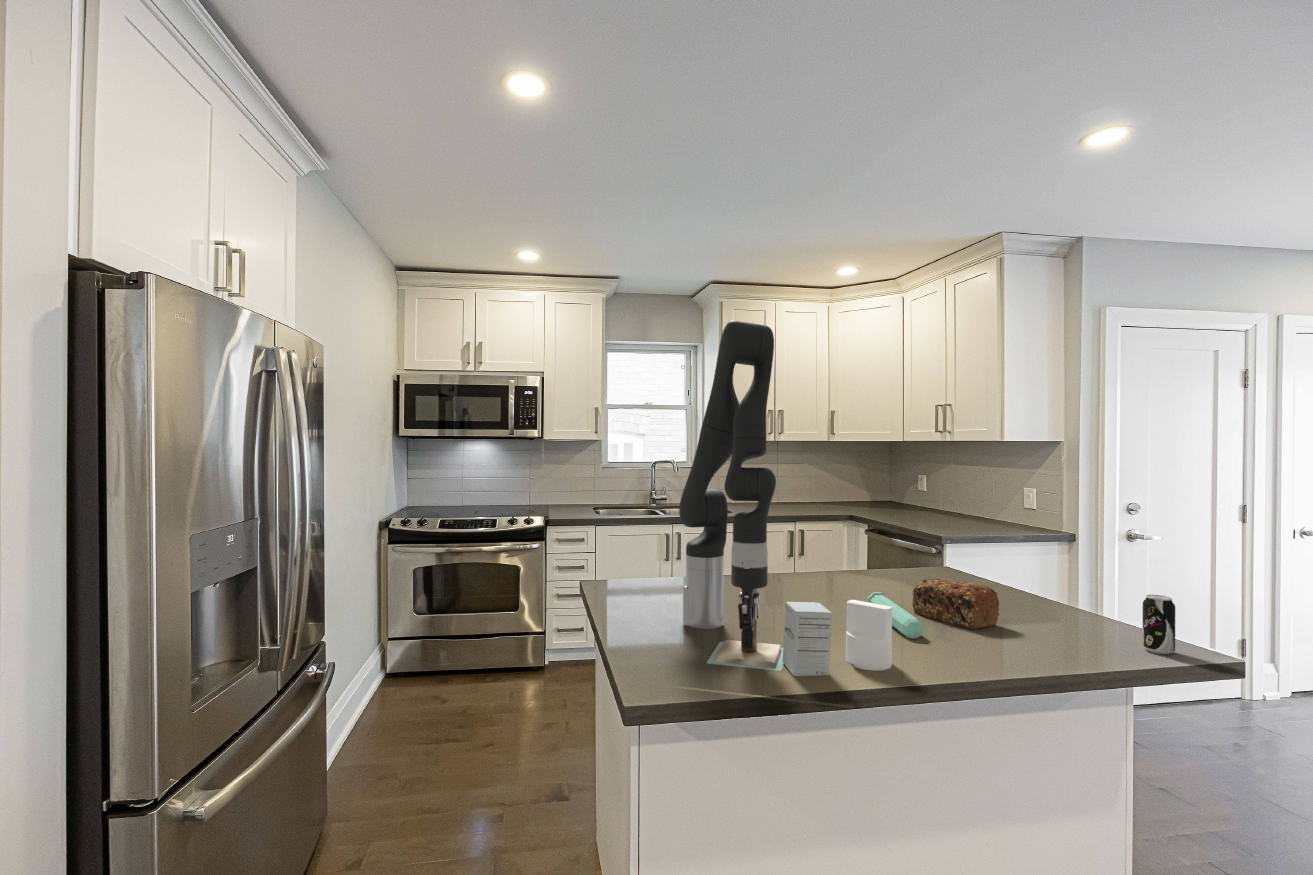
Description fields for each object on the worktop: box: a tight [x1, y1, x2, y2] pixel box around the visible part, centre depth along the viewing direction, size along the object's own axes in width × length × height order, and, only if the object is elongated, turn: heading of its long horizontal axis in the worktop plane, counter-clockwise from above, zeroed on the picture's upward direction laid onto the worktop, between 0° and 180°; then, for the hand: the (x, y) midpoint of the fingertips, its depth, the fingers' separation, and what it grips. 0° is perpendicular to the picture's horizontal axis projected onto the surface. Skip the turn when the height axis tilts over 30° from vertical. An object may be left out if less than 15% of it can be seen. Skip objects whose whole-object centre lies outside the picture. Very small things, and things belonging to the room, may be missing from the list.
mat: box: [706, 641, 785, 672], centre depth 141 cm, size 15×15×1 cm
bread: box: [912, 577, 1000, 630], centre depth 173 cm, size 19×11×10 cm, turn 27°
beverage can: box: [1141, 594, 1176, 655], centre depth 147 cm, size 6×6×12 cm
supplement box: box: [783, 601, 833, 677], centre depth 133 cm, size 7×7×13 cm
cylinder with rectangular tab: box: [845, 599, 893, 671], centre depth 138 cm, size 9×9×12 cm
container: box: [866, 591, 924, 639], centre depth 167 cm, size 6×6×25 cm
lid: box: [715, 621, 782, 668], centre depth 141 cm, size 12×12×7 cm
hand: (748, 644), depth 141 cm, fingers closed on lid, 3 cm apart
